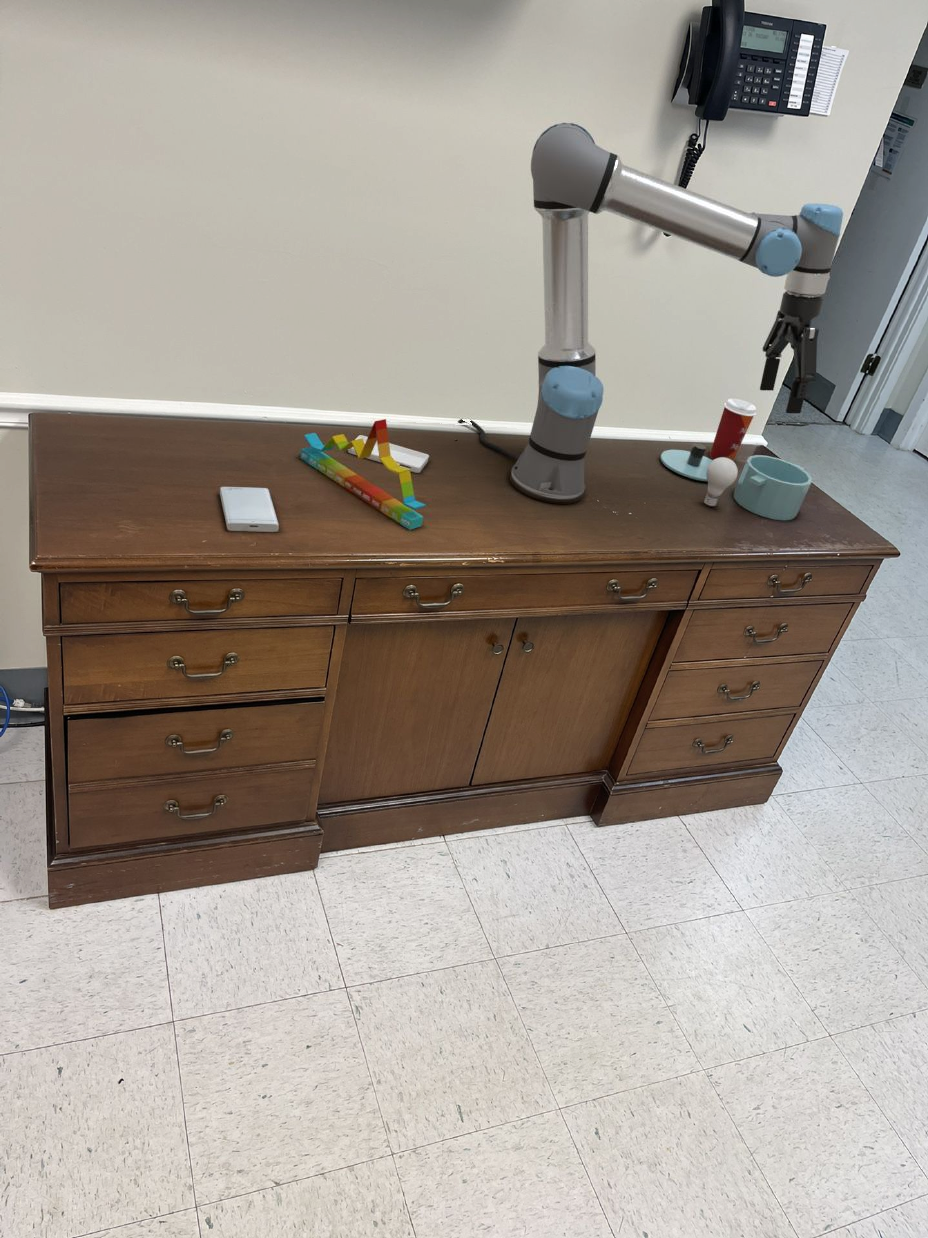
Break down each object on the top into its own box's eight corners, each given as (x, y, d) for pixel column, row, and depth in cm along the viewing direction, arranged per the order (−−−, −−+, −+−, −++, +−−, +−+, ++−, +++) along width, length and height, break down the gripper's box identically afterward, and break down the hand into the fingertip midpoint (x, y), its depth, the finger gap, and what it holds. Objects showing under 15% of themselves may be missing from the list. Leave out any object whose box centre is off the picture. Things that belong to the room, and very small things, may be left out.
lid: (646, 459, 211) (654, 436, 208) (684, 450, 221) (692, 428, 218) (699, 488, 203) (708, 465, 200) (735, 478, 212) (744, 455, 209)
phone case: (428, 460, 186) (359, 440, 187) (429, 454, 185) (360, 434, 186) (418, 474, 179) (346, 452, 181) (419, 467, 179) (347, 446, 180)
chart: (299, 458, 174) (307, 383, 166) (312, 455, 177) (321, 381, 168) (408, 530, 160) (423, 451, 151) (421, 526, 162) (436, 448, 154)
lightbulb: (692, 505, 194) (710, 458, 188) (697, 495, 199) (714, 449, 193) (721, 515, 192) (740, 468, 186) (725, 505, 198) (744, 459, 192)
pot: (714, 497, 200) (728, 461, 196) (760, 483, 213) (774, 449, 208) (768, 527, 192) (784, 491, 188) (813, 511, 205) (829, 477, 200)
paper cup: (737, 468, 218) (759, 413, 210) (705, 460, 218) (726, 404, 211) (735, 456, 224) (756, 402, 217) (705, 448, 225) (725, 394, 217)
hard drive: (220, 486, 156) (227, 522, 146) (268, 487, 159) (279, 523, 149) (219, 494, 157) (227, 531, 147) (267, 496, 160) (278, 532, 150)
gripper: (853, 309, 165) (823, 422, 176) (795, 278, 185) (773, 381, 197) (813, 309, 164) (786, 423, 175) (760, 277, 185) (739, 381, 196)
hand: (779, 401), depth 186 cm, fingers open, 13 cm apart
